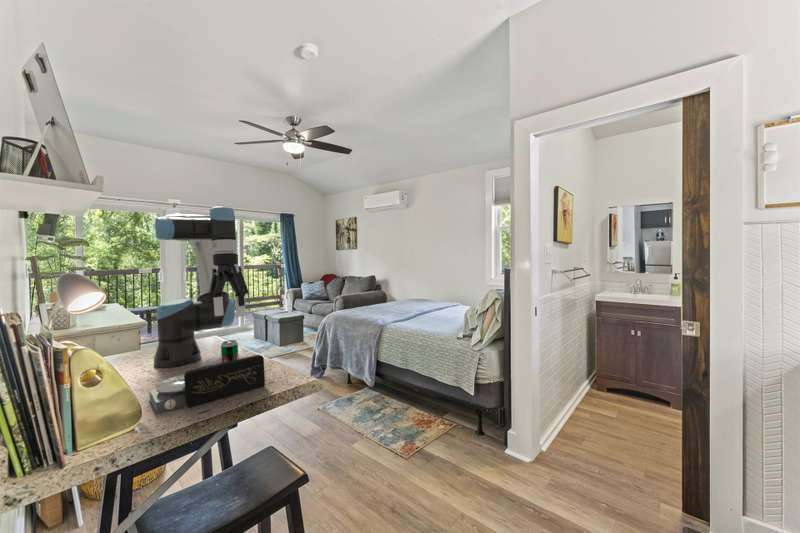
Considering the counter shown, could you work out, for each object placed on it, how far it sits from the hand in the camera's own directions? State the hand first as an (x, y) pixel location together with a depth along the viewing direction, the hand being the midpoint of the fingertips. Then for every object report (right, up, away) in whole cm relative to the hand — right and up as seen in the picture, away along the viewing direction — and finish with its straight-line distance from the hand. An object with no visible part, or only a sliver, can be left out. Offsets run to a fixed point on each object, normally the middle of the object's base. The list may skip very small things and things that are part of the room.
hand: (229, 316), depth 114 cm
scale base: (-6, -22, -16) cm, 28 cm away
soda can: (0, -21, 0) cm, 21 cm away
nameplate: (+7, -22, -14) cm, 27 cm away
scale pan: (-6, -18, -16) cm, 25 cm away
